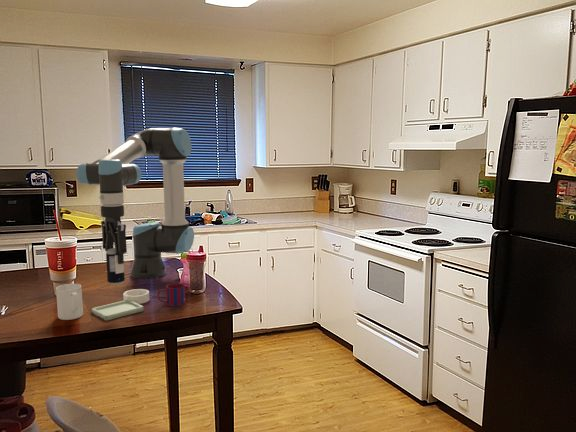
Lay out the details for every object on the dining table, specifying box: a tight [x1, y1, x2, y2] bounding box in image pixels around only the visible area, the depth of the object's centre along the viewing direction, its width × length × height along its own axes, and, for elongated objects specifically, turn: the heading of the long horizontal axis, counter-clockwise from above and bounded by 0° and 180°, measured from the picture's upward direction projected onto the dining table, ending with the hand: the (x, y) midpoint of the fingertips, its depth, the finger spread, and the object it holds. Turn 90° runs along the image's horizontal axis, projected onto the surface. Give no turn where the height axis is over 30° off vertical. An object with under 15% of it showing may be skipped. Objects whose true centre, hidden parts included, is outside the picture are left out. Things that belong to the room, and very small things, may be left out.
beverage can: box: [105, 247, 126, 286], centre depth 177 cm, size 6×6×12 cm
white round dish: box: [122, 288, 150, 305], centre depth 192 cm, size 9×9×3 cm
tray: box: [91, 300, 145, 321], centre depth 179 cm, size 14×11×2 cm
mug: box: [55, 283, 84, 321], centre depth 173 cm, size 12×8×10 cm, turn 39°
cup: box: [157, 282, 186, 307], centre depth 187 cm, size 7×10×7 cm
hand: (115, 270), depth 177 cm, fingers closed on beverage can, 6 cm apart
